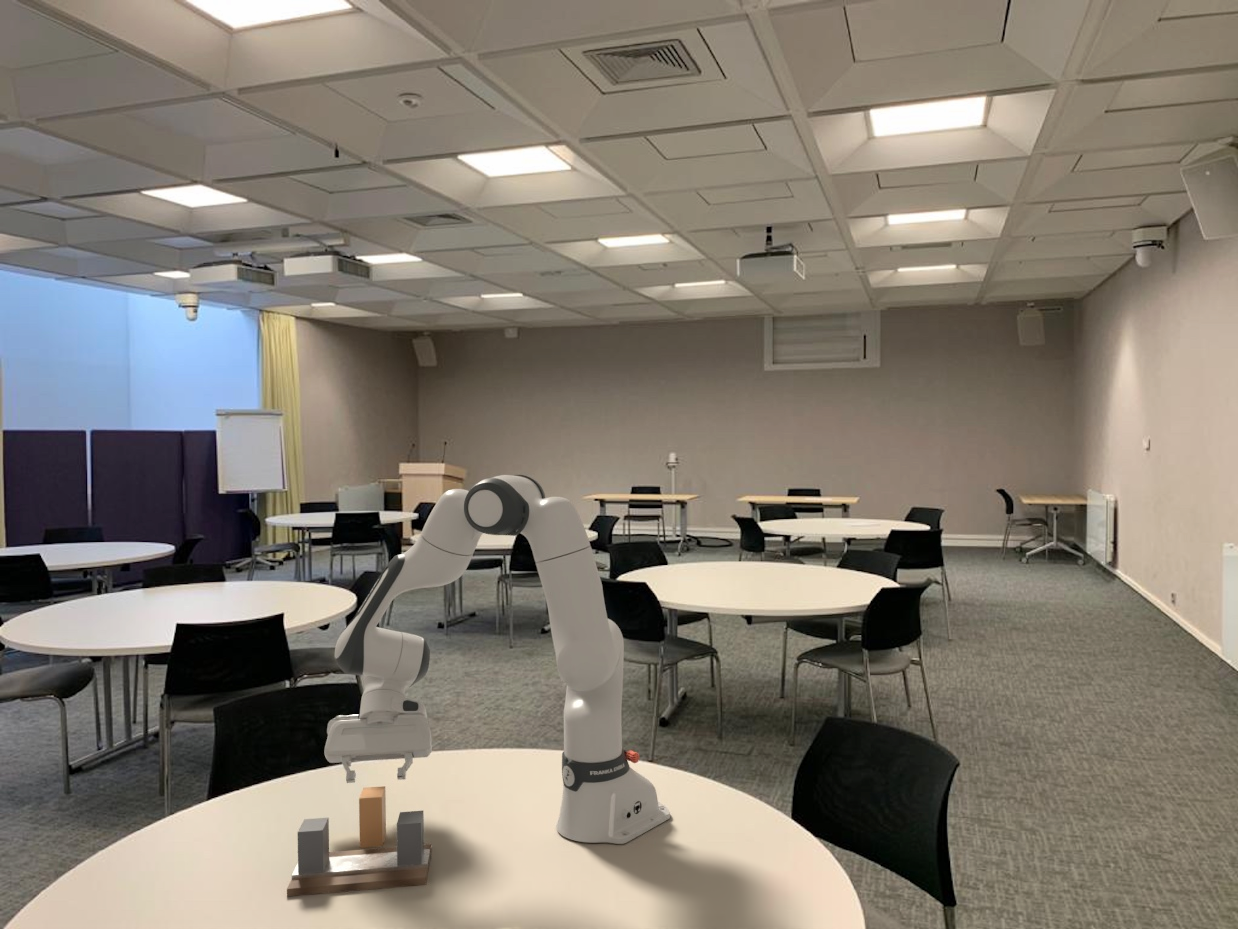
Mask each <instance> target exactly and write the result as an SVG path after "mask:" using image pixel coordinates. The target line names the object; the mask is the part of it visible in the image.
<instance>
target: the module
mask: <svg viewBox="0 0 1238 929" xmlns="http://www.w3.org/2000/svg"><path fill="white" fill-rule="evenodd" d="M386 802H387V801H386V786H372V787H369V786H368V787H363V788H362V790H361V793H360V796H359V797H358V809H359V810H358V812H359V815H358V816H359V822H358V823H359V848H360V849H363V848H374V847H375V848H377V847H383V846H384V842H385V839H386V835H387V823H386V822H387V816H386V815H387V811H386V810H387V809H386V808H387V804H386Z"/></svg>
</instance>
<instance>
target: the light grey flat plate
mask: <svg viewBox="0 0 1238 929" xmlns="http://www.w3.org/2000/svg"><path fill="white" fill-rule="evenodd" d="M429 856H430V849H425V850H424V853H423V859H422V864H414V865H402V866H397V852H388V853H376V854H363V855H351V856H338V857H329V860H328V862H327V864H326V867H325V869H324V872H318V873H306V874H298V862H297V863H296V866H295V867H294V870H293V872H292V874H291V879H298V878H310V877H322V876H333V875H345V874H357V873H369V872H381V871H393V870H405V869H417V868H428V862H429Z"/></svg>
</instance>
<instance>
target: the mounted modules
mask: <svg viewBox="0 0 1238 929" xmlns="http://www.w3.org/2000/svg"><path fill="white" fill-rule="evenodd" d="M398 814H399V815H398V817H397V818H398V819H397V821H396V847H397V866H402V865H414V864H422V859H423V853H424V845H425V832H424V830H425V828H424V826H425V823H424V822H425V821H424V819H425V818H424V816H425V815H424V810H414V811H413V810H412V811H411V810H410V811H400V812H399V813H398ZM329 822H330V818H329V817H317V818H306V819H305V818H304V819H303V822H302V823H301V825H300V827H299V828H298V830H297V863H298V874H306V873H318V872H324V869H325V867H326V864H327V862H328V860H329V852H330V829H329V828H330V826H329V825H330V824H329Z"/></svg>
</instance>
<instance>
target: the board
mask: <svg viewBox="0 0 1238 929" xmlns="http://www.w3.org/2000/svg"><path fill="white" fill-rule="evenodd" d="M432 848H433V847H432V843H431V844H429V843H427V844H424V850H425V849H430V856H429V862H428V868H417V869H405V870H393V871H381V872H369V873H357V874H345V875H333V876H322V877H310V878H298V879H292V878H291V879H290V882H289V884H288V885H287V888H286V897H294V896H295V897H296V896H308V895H316V894H319V895H320V894H329V893H332V894H333V893H340V892H352V891H353V892H356V891H363V890H364V891H365V890H375V889H389V888H390V889H391V888H399V887H408V886H411V887H412V886H422V885H427V882H428V876H429V870H430V861H431V857H432V851H433V850H432ZM388 852H397V846H391V847H379V848H377V847H375V848H367V849H352V850H341V851H329V857H338V856H351V855H363V854H376V853H388Z"/></svg>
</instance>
